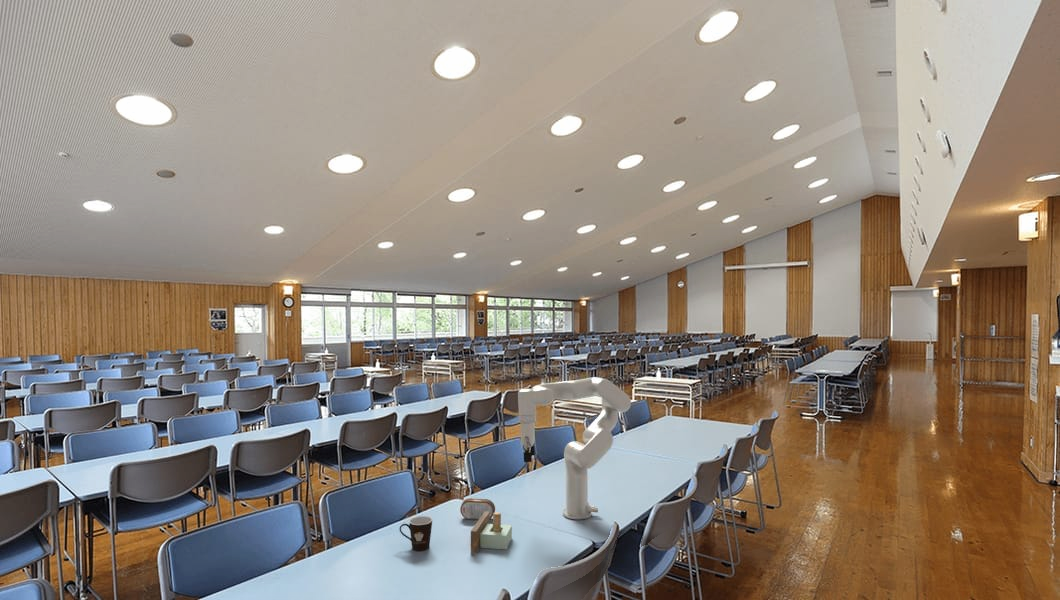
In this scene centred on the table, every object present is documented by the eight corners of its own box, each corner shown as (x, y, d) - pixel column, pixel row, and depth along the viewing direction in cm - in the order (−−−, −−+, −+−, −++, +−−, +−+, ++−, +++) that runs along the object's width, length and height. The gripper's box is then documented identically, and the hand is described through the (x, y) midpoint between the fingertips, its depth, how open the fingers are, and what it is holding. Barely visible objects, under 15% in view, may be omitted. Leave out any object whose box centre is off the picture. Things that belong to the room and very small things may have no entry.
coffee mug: (436, 544, 194) (437, 518, 194) (423, 554, 186) (423, 526, 186) (412, 539, 198) (412, 513, 199) (397, 548, 191) (398, 521, 191)
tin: (495, 518, 220) (495, 498, 220) (494, 521, 217) (494, 501, 217) (461, 517, 221) (461, 497, 222) (459, 519, 218) (459, 500, 219)
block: (511, 538, 199) (511, 525, 199) (506, 549, 189) (506, 535, 189) (487, 536, 201) (487, 523, 201) (480, 547, 191) (480, 534, 191)
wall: (489, 531, 206) (489, 511, 206) (475, 553, 186) (475, 531, 186) (484, 531, 206) (484, 511, 206) (470, 553, 186) (470, 531, 187)
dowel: (493, 538, 197) (494, 512, 197) (501, 538, 196) (501, 512, 196) (491, 541, 194) (492, 514, 194) (499, 542, 193) (500, 515, 194)
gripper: (522, 414, 226) (523, 452, 225) (515, 422, 209) (517, 464, 208) (538, 414, 225) (540, 452, 224) (533, 422, 208) (535, 464, 207)
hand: (529, 458), depth 216 cm, fingers open, 9 cm apart
